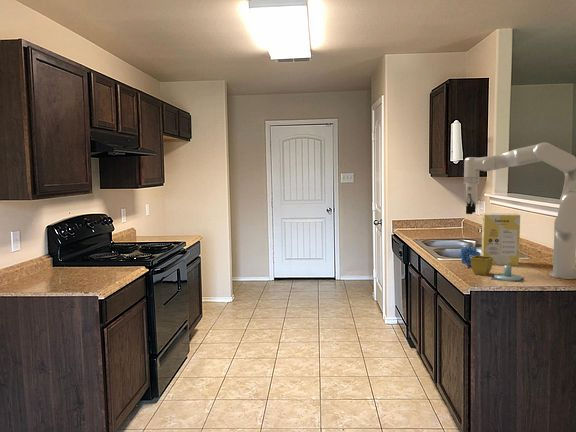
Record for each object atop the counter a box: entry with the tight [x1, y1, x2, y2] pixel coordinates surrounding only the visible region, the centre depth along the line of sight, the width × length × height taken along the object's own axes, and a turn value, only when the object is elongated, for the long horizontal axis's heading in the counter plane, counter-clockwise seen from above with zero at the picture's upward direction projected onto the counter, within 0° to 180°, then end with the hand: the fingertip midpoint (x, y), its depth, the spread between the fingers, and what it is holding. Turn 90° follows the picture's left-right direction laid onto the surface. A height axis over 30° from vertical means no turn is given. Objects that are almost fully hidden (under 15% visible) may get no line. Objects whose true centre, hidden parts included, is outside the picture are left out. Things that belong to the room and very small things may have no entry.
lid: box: [493, 265, 522, 282], centre depth 231 cm, size 12×12×6 cm
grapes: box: [458, 245, 481, 268], centre depth 259 cm, size 12×7×12 cm, turn 85°
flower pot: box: [470, 255, 493, 276], centre depth 242 cm, size 9×9×9 cm
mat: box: [490, 274, 525, 284], centre depth 231 cm, size 14×12×1 cm
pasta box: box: [480, 212, 521, 266], centre depth 270 cm, size 18×10×28 cm, turn 74°
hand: (470, 213), depth 252 cm, fingers open, 9 cm apart
